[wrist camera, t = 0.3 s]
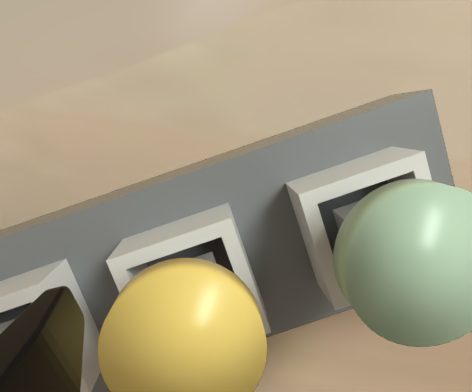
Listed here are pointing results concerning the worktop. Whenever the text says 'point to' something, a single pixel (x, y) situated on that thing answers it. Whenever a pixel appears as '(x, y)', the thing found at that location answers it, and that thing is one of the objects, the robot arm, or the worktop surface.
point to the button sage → (408, 261)
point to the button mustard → (183, 331)
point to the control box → (230, 219)
